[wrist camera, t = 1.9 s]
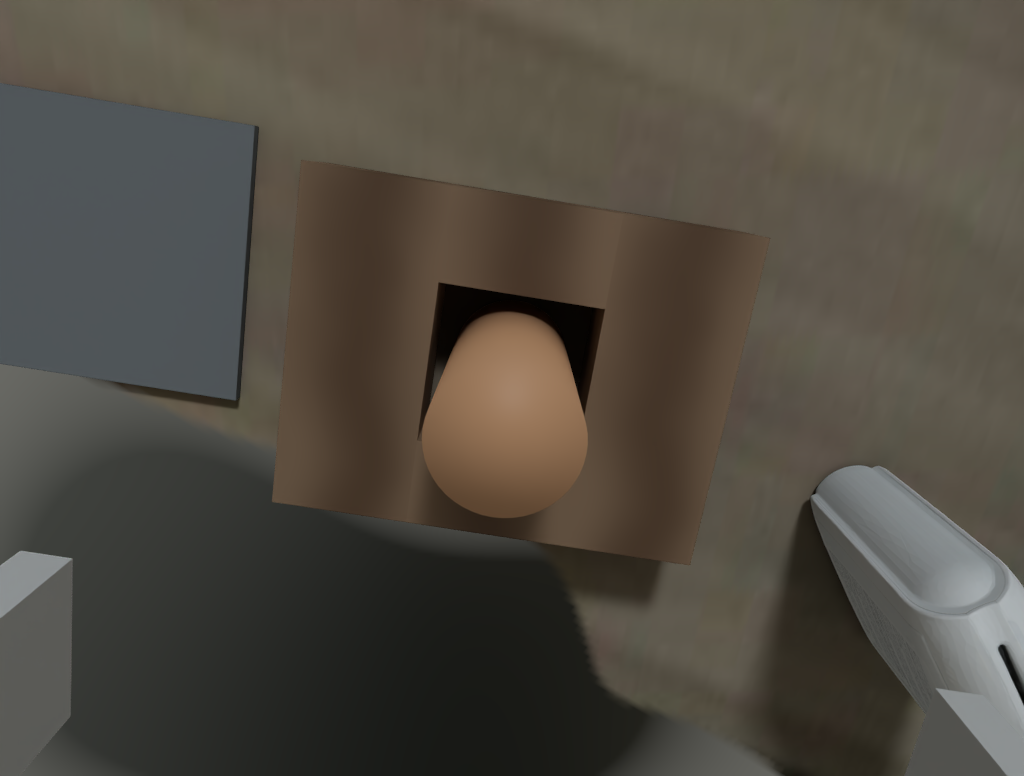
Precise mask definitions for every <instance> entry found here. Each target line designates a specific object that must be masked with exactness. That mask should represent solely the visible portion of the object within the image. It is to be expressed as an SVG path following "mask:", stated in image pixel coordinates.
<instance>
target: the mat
mask: <svg viewBox="0 0 1024 776" xmlns="http://www.w3.org/2000/svg"><path fill="white" fill-rule="evenodd" d="M258 129H259V127H258V126H253V125H247V124H241V123H235V122H229V121H223V120H217V119H211V118H205V117H199V116H193V115H187V114H181V113H175V112H169V111H163V110H157V109H152V108H146V107H140V106H134V105H128V104H122V103H116V102H110V101H104V100H98V99H92V98H86V97H80V96H74V95H68V94H62V93H56V92H50V91H44V90H38V89H32V88H26V87H20V86H14V85H8V84H2V83H0V364H6V365H12V366H19V367H24V368H31V369H37V370H44V371H50V372H56V373H63V374H69V375H76V376H82V377H89V378H95V379H101V380H108V381H114V382H121V383H127V384H133V385H140V386H146V387H153V388H159V389H165V390H172V391H178V392H185V393H191V394H198V395H204V396H210V397H217V398H223V399H230V400H237V399H238V398H240V385H241V371H242V357H243V342H244V328H245V314H246V300H247V285H248V271H249V257H250V243H251V228H252V214H253V200H254V186H255V171H256V157H257V143H258Z"/></svg>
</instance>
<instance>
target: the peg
mask: <svg viewBox="0 0 1024 776" xmlns="http://www.w3.org/2000/svg"><path fill="white" fill-rule="evenodd" d="M587 447H588V433H587V426H586V421H585V418H584V414H583V410H582V407H581V403H580V399H579V396H578V392H577V388H576V385H575V381H574V377H573V373H572V370H571V366H570V362H569V359H568V355H567V351H566V348H565V344H564V340H563V337H562V334H561V332H560V330H559V328H558V326H557V325H556V323H555V322H554V321H553V319H552V318H551V317H550V316H549V315H548V314H547V313H546V312H544V311H543V310H541V309H540V308H538V307H536V306H535V305H532V304H530V303H527V302H523V301H519V300H502V301H497V302H493V303H490V304H488V305H486V306H483V307H482V308H480V309H479V310H477V311H476V312H475V313H473V314H472V315H471V316H470V317H469V318H468V320H467V321H466V322H465V324H464V325H463V327H462V328H461V330H460V332H459V335H458V337H457V340H456V342H455V344H454V347H453V349H452V352H451V354H450V357H449V359H448V362H447V364H446V367H445V369H444V371H443V374H442V376H441V379H440V381H439V384H438V386H437V389H436V391H435V393H434V396H433V398H432V401H431V403H430V406H429V408H428V411H427V414H426V416H425V420H424V424H423V430H422V448H423V454H424V459H425V462H426V465H427V467H428V470H429V472H430V474H431V476H432V478H433V479H434V481H435V482H436V483H437V485H438V486H439V488H440V489H441V490H442V491H443V492H444V493H445V494H446V495H447V496H448V497H449V498H451V499H452V500H453V501H454V502H456V503H457V504H459V505H460V506H462V507H464V508H466V509H468V510H470V511H472V512H475V513H478V514H480V515H484V516H489V517H495V518H516V517H522V516H527V515H530V514H534V513H536V512H539V511H541V510H543V509H545V508H547V507H549V506H550V505H552V504H554V503H555V502H556V501H558V500H559V499H560V498H561V497H562V496H563V495H564V494H565V493H566V492H567V491H568V490H569V489H570V488H571V487H572V485H573V484H574V483H575V481H576V479H577V478H578V476H579V474H580V472H581V470H582V468H583V465H584V462H585V458H586V454H587Z"/></svg>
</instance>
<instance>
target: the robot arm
mask: <svg viewBox="0 0 1024 776" xmlns="http://www.w3.org/2000/svg"><path fill="white" fill-rule="evenodd" d="M72 563H73V559H72V558H65V557H58V556H52V555H45V554H39V553H32V552H25V551H20V552H18V553H17V554H15V555H14V556H13V557H11V558H10V559H9V560H7V561H6V562H4V563H3V564H2V565H0V776H20V774H21V773H22V772H23V771H24V770H25V769H26V768H27V766H28V765H29V764H30V763H31V762H32V761H33V759H34V758H35V757H36V756H37V755H38V754H39V752H40V751H41V750H42V749H43V748H44V746H45V745H46V744H47V743H48V742H49V741H50V739H51V738H52V737H53V736H54V735H55V734H56V732H57V731H58V730H59V729H60V728H61V727H62V725H63V724H64V723H65V722H66V721H67V720H68V718H69V717H70V716H71V643H72V642H71V641H72ZM905 776H1024V739H1023V738H1022V737H1021V736H1020V735H1019V734H1018V732H1017V731H1016V730H1015V729H1014V728H1013V727H1012V726H1011V725H1010V724H1009V723H1008V721H1007V720H1006V719H1005V718H1004V717H1003V716H1002V715H1001V714H1000V713H999V711H998V710H997V709H996V708H995V707H994V706H993V705H992V704H991V703H990V701H989V700H988V699H987V698H986V697H985V696H984V695H978V694H971V693H964V692H958V691H951V690H944V689H938V688H935V691H934V693H933V696H932V699H931V702H930V705H929V708H928V711H927V713H926V716H925V719H924V722H923V725H922V728H921V730H920V733H919V736H918V739H917V742H916V745H915V747H914V750H913V753H912V756H911V759H910V762H909V764H908V767H907V770H906V773H905Z"/></svg>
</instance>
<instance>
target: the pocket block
mask: <svg viewBox="0 0 1024 776" xmlns="http://www.w3.org/2000/svg"><path fill="white" fill-rule="evenodd" d="M769 242H770V238H767V237H763V236H758V235H754V234H749V233H745V232H740V231H734V230H728V229H722V228H716V227H710V226H704V225H698V224H692V223H686V222H680V221H674V220H668V219H662V218H656V217H650V216H644V215H638V214H632V213H626V212H620V211H614V210H608V209H602V208H596V207H590V206H584V205H578V204H572V203H566V202H560V201H554V200H548V199H542V198H536V197H530V196H524V195H518V194H511V193H505V192H499V191H493V190H487V189H481V188H475V187H469V186H463V185H457V184H451V183H445V182H439V181H433V180H427V179H421V178H415V177H409V176H403V175H397V174H391V173H385V172H379V171H373V170H367V169H361V168H355V167H349V166H343V165H337V164H331V163H324V162H314V161H304V160H301V168H300V180H299V192H298V204H297V215H296V227H295V239H294V251H293V263H292V274H291V286H290V298H289V310H288V321H287V333H286V345H285V357H284V368H283V380H282V392H281V404H280V416H279V427H278V439H277V451H276V464H275V474H274V487H273V498H272V502H277V503H283V504H290V505H297V506H303V507H310V508H316V509H323V510H329V511H336V512H343V513H349V514H356V515H362V516H369V517H375V518H383V519H388V520H395V521H402V522H408V523H415V524H421V525H429V526H435V527H441V528H448V529H454V530H461V531H467V532H474V533H481V534H487V535H494V536H500V537H507V538H513V539H520V540H527V541H533V542H540V543H546V544H553V545H559V546H566V547H573V548H579V549H586V550H592V551H599V552H606V553H612V554H619V555H625V556H632V557H638V558H645V559H652V560H658V561H665V562H671V563H678V564H684V565H690V563H691V559H692V555H693V551H694V547H695V543H696V539H697V535H698V531H699V527H700V523H701V519H702V514H703V510H704V506H705V502H706V498H707V494H708V490H709V486H710V482H711V478H712V474H713V470H714V466H715V462H716V457H717V453H718V449H719V445H720V441H721V437H722V433H723V429H724V425H725V421H726V417H727V413H728V409H729V405H730V400H731V396H732V392H733V388H734V384H735V380H736V376H737V372H738V368H739V364H740V360H741V356H742V352H743V348H744V343H745V339H746V335H747V331H748V327H749V323H750V319H751V315H752V311H753V307H754V303H755V299H756V295H757V291H758V286H759V282H760V278H761V274H762V270H763V266H764V262H765V258H766V254H767V250H768V246H769ZM446 284H452V285H458V286H465V287H471V288H477V289H483V290H489V291H495V292H502V293H508V294H514V295H520V296H526V297H532V298H539V299H545V300H551V301H557V302H563V303H569V304H576V305H582V306H588V307H593V311H592V316H591V321H590V326H589V332H588V337H587V342H586V347H585V353H584V358H583V363H582V368H581V374H580V379H579V384H578V389H577V392H578V396H579V399H580V403H581V407H582V410H583V414H584V418H585V421H586V426H587V433H588V447H587V454H586V458H585V462H584V465H583V468H582V470H581V472H580V474H579V476H578V478H577V479H576V481H575V483H574V484H573V485H572V487H571V488H570V489H569V490H568V491H567V492H566V493H565V494H564V495H563V496H562V497H561V498H560V499H559V500H558V501H556V502H555V503H554V504H552V505H550V506H549V507H547V508H545V509H543V510H541V511H539V512H536V513H534V514H530V515H527V516H522V517H516V518H495V517H489V516H484V515H480V514H478V513H475V512H472V511H470V510H468V509H466V508H464V507H462V506H460V505H459V504H457V503H456V502H454V501H453V500H452V499H451V498H449V497H448V496H447V495H446V494H445V493H444V492H443V491H442V490H441V489H440V488H439V486H438V485H437V483H436V482H435V481H434V479H433V478H432V476H431V474H430V472H429V470H428V467H427V465H426V462H425V459H424V454H423V448H422V430H423V424H424V420H425V416H426V414H427V411H428V408H429V405H430V397H431V390H432V383H433V376H434V368H435V361H436V354H437V347H438V339H439V332H440V325H441V318H442V311H443V303H444V296H445V289H446Z"/></svg>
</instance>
